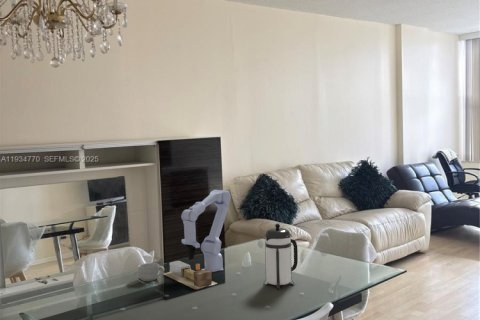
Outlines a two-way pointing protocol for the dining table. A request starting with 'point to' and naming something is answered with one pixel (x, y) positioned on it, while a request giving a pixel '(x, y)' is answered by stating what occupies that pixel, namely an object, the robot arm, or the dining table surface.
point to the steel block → (178, 268)
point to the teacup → (149, 271)
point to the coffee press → (279, 256)
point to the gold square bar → (190, 271)
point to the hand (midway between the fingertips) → (191, 259)
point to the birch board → (186, 280)
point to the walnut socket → (202, 278)
